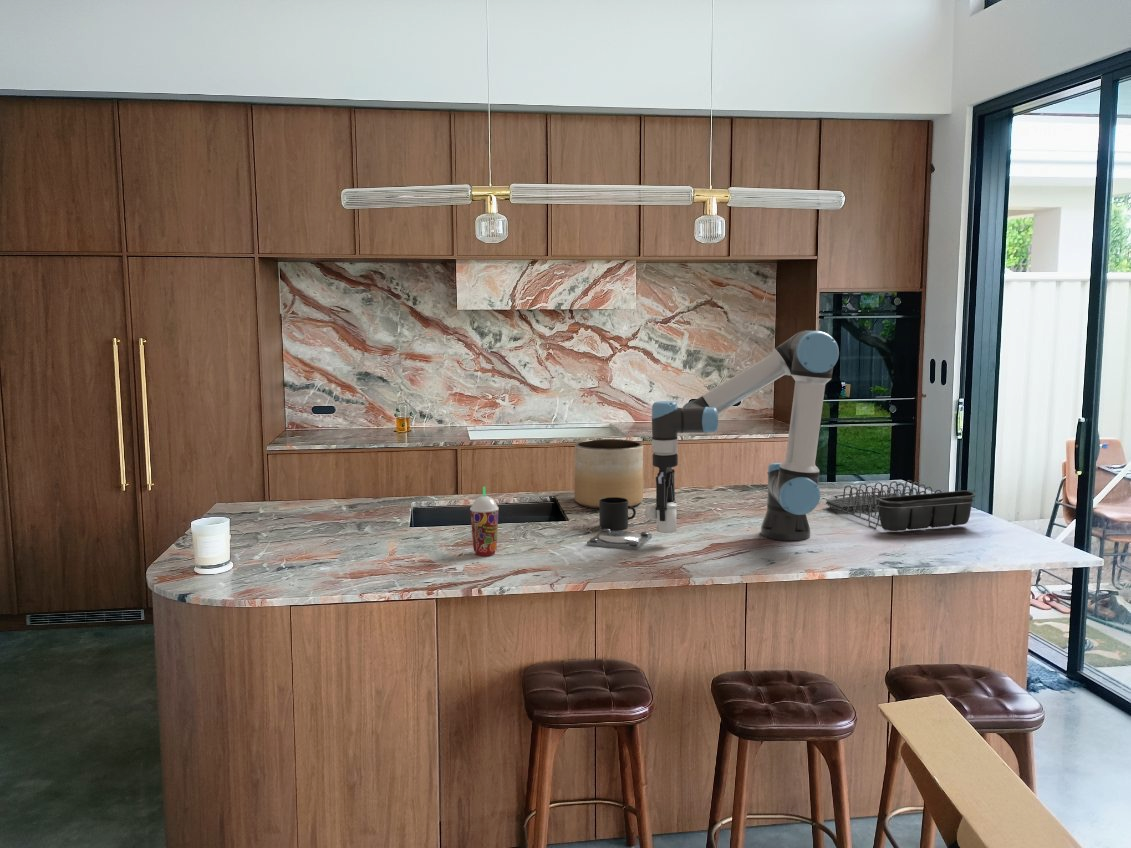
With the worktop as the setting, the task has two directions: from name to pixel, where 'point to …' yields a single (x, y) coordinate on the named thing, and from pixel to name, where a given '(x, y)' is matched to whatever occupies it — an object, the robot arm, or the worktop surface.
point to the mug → (614, 513)
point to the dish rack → (908, 507)
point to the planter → (608, 471)
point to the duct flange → (619, 539)
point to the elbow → (671, 507)
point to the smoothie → (484, 525)
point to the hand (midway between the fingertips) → (666, 528)
